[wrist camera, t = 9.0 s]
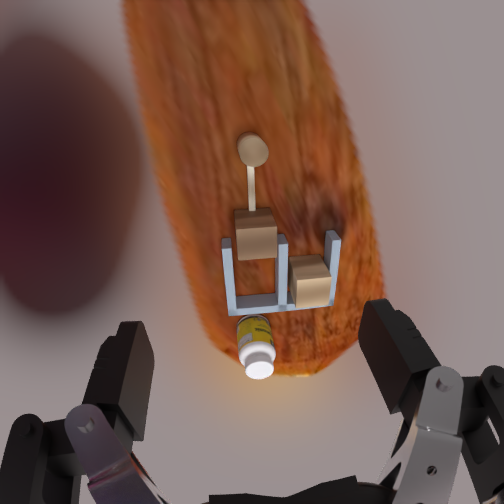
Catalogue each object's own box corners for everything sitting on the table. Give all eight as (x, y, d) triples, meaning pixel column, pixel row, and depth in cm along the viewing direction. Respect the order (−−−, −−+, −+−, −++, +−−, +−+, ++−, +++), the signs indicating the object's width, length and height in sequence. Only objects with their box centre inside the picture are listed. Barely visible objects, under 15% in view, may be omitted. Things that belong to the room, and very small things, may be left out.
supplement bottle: (276, 325, 50) (286, 370, 42) (251, 341, 52) (257, 387, 43) (255, 307, 48) (262, 353, 40) (229, 325, 50) (232, 371, 41)
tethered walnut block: (229, 133, 35) (230, 140, 30) (267, 131, 36) (275, 137, 30) (235, 237, 42) (238, 260, 37) (269, 235, 42) (277, 257, 37)
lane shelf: (221, 238, 42) (221, 249, 39) (334, 230, 43) (341, 239, 40) (228, 303, 47) (228, 316, 45) (327, 293, 48) (333, 305, 46)
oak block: (288, 256, 44) (297, 280, 39) (319, 254, 45) (331, 276, 39) (287, 283, 47) (295, 308, 41) (317, 280, 47) (328, 304, 42)
